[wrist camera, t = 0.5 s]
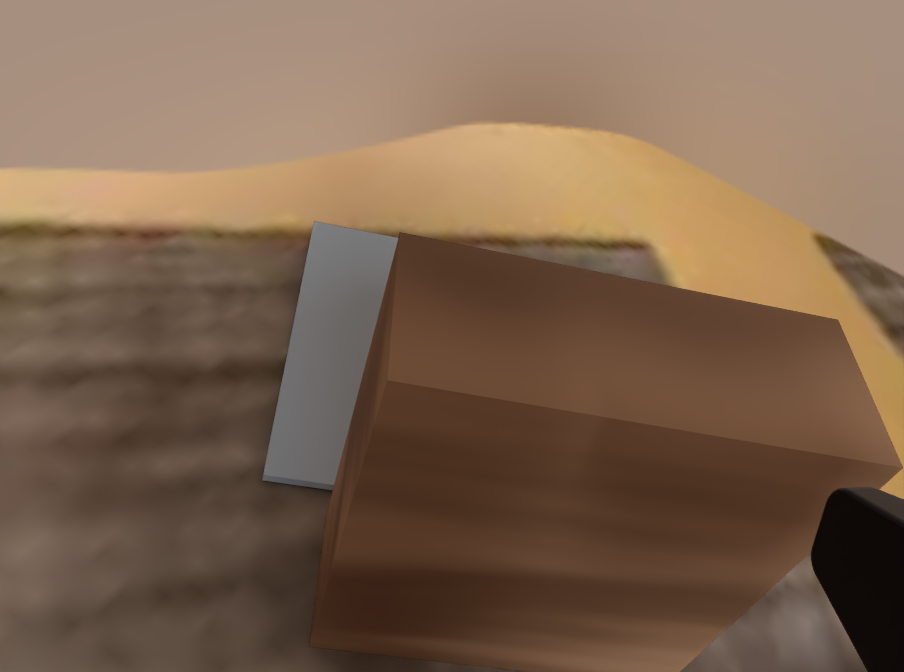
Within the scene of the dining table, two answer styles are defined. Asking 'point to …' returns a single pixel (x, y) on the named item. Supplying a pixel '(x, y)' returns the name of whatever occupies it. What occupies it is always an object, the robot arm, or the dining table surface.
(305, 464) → the mat
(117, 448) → the dining table surface
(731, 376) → the walnut block
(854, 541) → the robot arm
